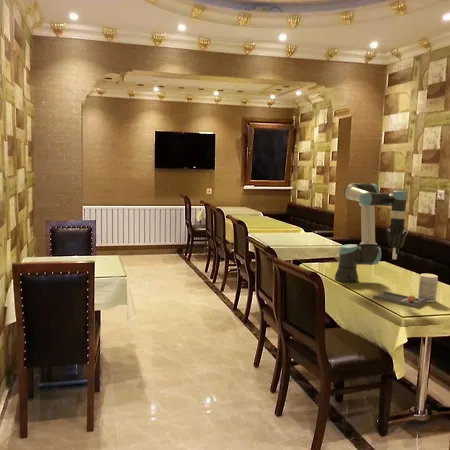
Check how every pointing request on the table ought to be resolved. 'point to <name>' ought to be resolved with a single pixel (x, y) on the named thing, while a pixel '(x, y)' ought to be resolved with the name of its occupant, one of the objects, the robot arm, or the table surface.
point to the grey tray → (400, 299)
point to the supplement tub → (428, 287)
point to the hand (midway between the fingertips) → (394, 258)
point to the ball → (411, 298)
